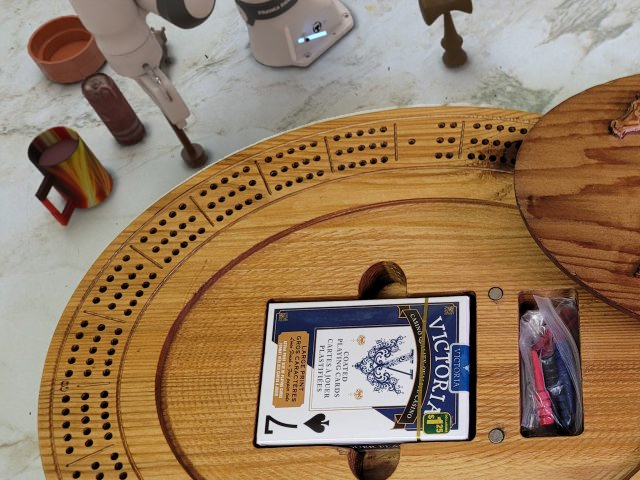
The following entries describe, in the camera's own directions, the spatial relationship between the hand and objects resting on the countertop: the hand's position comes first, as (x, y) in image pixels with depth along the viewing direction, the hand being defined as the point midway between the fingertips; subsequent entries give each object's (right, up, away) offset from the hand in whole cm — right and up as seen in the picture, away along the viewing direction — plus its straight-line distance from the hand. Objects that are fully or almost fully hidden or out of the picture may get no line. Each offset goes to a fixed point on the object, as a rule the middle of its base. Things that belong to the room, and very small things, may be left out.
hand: (169, 111), depth 151 cm
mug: (-19, -14, +9) cm, 26 cm away
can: (-14, 0, +16) cm, 21 cm away
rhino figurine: (-11, +18, +24) cm, 33 cm away
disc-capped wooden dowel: (+1, -6, +11) cm, 13 cm away
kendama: (+51, +16, +18) cm, 57 cm away
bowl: (-31, +19, +26) cm, 45 cm away
